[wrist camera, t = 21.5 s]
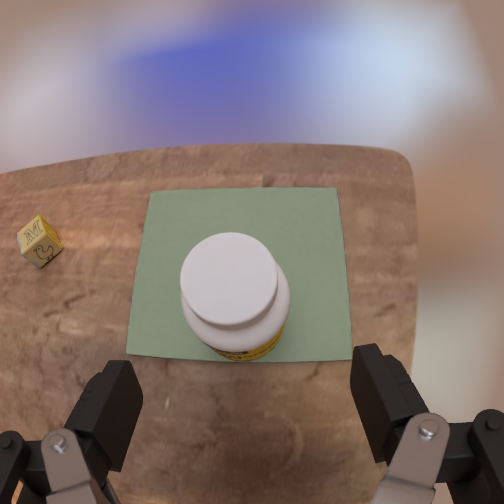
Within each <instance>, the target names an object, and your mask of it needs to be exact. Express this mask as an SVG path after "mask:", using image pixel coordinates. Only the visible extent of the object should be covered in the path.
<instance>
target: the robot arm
mask: <svg viewBox="0 0 504 504" xmlns="http://www.w3.org/2000/svg"><path fill="white" fill-rule="evenodd" d="M350 388H351V393H352V396H353V399H354V402H355V405H356V407H357V410H358V413H359V416H360V419H361V422H362V425H363V427H364V430H365V433H366V436H367V439H368V442H369V445H370V448H371V451H372V454H373V457H374V460H375V463H380V462H384V461H386V463H387V466H388V469H387V471H386V473H385V475H384V477H383V479H382V481H381V483H380V485H379V487H378V489H377V491H376V493H375V495H374V497H373V499H372V500H371V502H370V504H432V502H433V499H434V496H435V491H436V490H435V489H434V484H435V483H445V482H446V483H447V486H448V489H449V491H450V494H451V497H452V500H453V503H454V504H504V413H502V412H501V411H498V410H494V409H487V410H483V411H481V412H480V413H478V415H477V416H476V417H475V419H474V421H473V422H466V423H448V422H447V421H446V420H445V419H444V418H443V417H441V416H440V415H438V414H435V413H430V411H429V410H428V408H427V406H426V405H425V403H424V401H423V399H422V398H421V396H420V394H419V392H418V390H417V389H416V387H415V385H414V384H413V382H412V381H411V378H410V377H409V375H408V374H407V372H406V370H405V368H404V367H403V365H402V363H401V362H400V361H399V360H397V359H396V358H394V357H393V356H392V355H385V356H383V355H382V353H381V351H380V349H379V348H378V346H377V344H375V343H373V344H367V345H361V346H355V347H354V350H353V358H352V367H351V375H350ZM142 405H143V393H142V389H141V387H140V384H139V382H138V379H137V377H136V374H135V372H134V369H133V366H132V364H131V362H130V361H128V360H109V361H108V363H107V364H106V366H105V368H104V370H103V372H102V373H100V372H98V373H97V374H96V375H95V376H94V377H93V378H91V379H90V380H89V381H88V383H87V385H86V387H85V389H84V392H82V394H81V396H80V398H79V400H78V401H77V403H76V405H75V407H74V409H73V410H72V412H71V414H70V416H69V418H68V420H67V422H66V424H65V426H64V427H63V428H58V429H54V430H52V431H50V432H49V433H47V434H46V435H45V436H44V438H43V440H40V441H25V440H24V439H23V438H22V436H21V435H20V434H19V433H18V432H16V431H6V432H3V433H1V434H0V504H11V500H12V496H13V494H14V491H15V489H16V486H17V484H18V482H19V480H20V481H21V482H22V483H23V484H24V485H23V488H22V490H21V493H20V495H19V498H18V500H17V503H16V504H121V503H120V501H119V499H118V497H117V495H116V493H115V491H114V489H113V487H112V485H111V483H110V481H109V479H108V478H107V475H108V472H109V470H110V471H116V472H121V469H122V466H123V462H124V459H125V456H126V453H127V450H128V447H129V444H130V441H131V438H132V435H133V432H134V429H135V426H136V423H137V420H138V417H139V414H140V411H141V408H142Z"/></svg>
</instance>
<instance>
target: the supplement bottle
mask: <svg viewBox="0 0 504 504" xmlns="http://www.w3.org/2000/svg"><path fill="white" fill-rule="evenodd" d="M180 287H181V306H182V311H183V314H184V317H185V320H186V322H187V324H188V326H189V328H190V329H191V330H192V332H193V333H194V334H195V335H196V336H197V337H198V338H199V339H200V340H201V341H202V342H203V343H205V344H206V345H207V346H209V347H210V348H211V349H213V350H214V351H216V352H217V353H218V354H220V355H221V356H223V357H225V358H227V359H230V360H233V361H238V362H249V361H254V360H257V359H260V358H262V357H264V356H265V355H267V354H268V353H270V352H271V351H272V350H273V349H274V347H275V346H276V345H277V343H278V342H279V340H280V338H281V336H282V333H283V330H284V326H285V323H286V319H287V316H288V313H289V308H290V289H289V284H288V281H287V279H286V276H285V274H284V272H283V270H282V269H281V267H280V266H279V265H278V263H277V262H276V261H275V260H274V258H273V256H272V255H271V253H270V252H269V250H268V249H267V248H266V247H265V246H264V245H263V244H262V243H261V242H259V241H258V240H257V239H255V238H253V237H251V236H248V235H246V234H242V233H235V232H226V233H219V234H216V235H212V236H210V237H208V238H206V239H204V240H203V241H201V242H200V243H198V244H197V245H196V246H195V247H194V248H193V249H192V250H191V251H190V253H189V254H188V255H187V257H186V259H185V261H184V263H183V265H182V269H181V273H180Z"/></svg>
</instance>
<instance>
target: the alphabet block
mask: <svg viewBox="0 0 504 504" xmlns="http://www.w3.org/2000/svg"><path fill="white" fill-rule="evenodd" d="M17 239H18V242H19V246H20V250H21V253H22V256H24V257H25V258H26V259H28V260H29V261H30V262H32V263H33V264H34V265H36V266H37V267H38V268H41V267H42V266H43V265H44V264H46V263H47V262H48V261H49V260H50V259H51V258H53V257H54V256H55V255H56V254H57V253H58V252H60V251H61V250H62V246H61V244H60V242H59V239H58V237H57V234H56V232H55V230H54V228H53V227H52V226H51V225H50V224H49V223H48V222H47V221H46V220H45V219H44V218H43V217H42V216H41V215H40V214H39V215H37V216H36V217H35V218H34V219H33V220H32V221H31V222H30V223H28V224H27V225H26V226H25V227H24V228H23V229H22V230H21V231H20V232H19V233H17Z"/></svg>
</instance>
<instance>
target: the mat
mask: <svg viewBox="0 0 504 504" xmlns="http://www.w3.org/2000/svg"><path fill="white" fill-rule="evenodd" d="M226 232H235V233H242V234H246V235H248V236H251V237H253V238H255V239H257V240H258V241H259V242H261V243H262V244H263V245H264V246H265V247H266V248H267V249H268V250H269V252H270V253H271V255H272V256H273V258H274V260H275V261H276V262H277V263H278V265H279V266H280V267H281V269H282V270H283V272H284V274H285V276H286V279H287V281H288V284H289V289H290V308H289V313H288V316H287V319H286V323H285V326H284V330H283V333H282V336H281V338H280V340H279V342H278V343H277V345H276V346H275V347H274V349H273V350H272V351H271V352H270V353H268V354H267V355H265V356H264V357H262V358H260V359H257V360H254V361H249V362H320V361H340V360H352V341H351V323H350V308H349V294H348V283H347V272H346V262H345V252H344V243H343V235H342V227H341V219H340V211H339V204H338V197H337V191H336V188H297V187H270V188H217V189H191V190H170V191H153V192H151V196H150V201H149V205H148V210H147V215H146V220H145V225H144V230H143V235H142V240H141V246H140V251H139V257H138V263H137V269H136V276H135V282H134V289H133V296H132V303H131V311H130V319H129V328H128V338H127V348H126V354H130V355H139V356H149V357H159V358H171V359H184V360H200V361H221V362H238V361H233V360H230V359H227V358H225V357H223V356H221V355H220V354H218V353H217V352H216V351H214V350H213V349H211V348H210V347H209V346H207V345H206V344H205V343H203V342H202V341H201V340H200V339H199V338H198V337H197V336H196V335H195V334H194V333H193V332H192V330H191V329H190V328H189V326H188V324H187V322H186V320H185V317H184V314H183V311H182V306H181V287H180V273H181V269H182V265H183V263H184V261H185V259H186V257H187V255H188V254H189V253H190V251H191V250H192V249H193V248H194V247H195V246H196V245H197V244H198V243H200V242H201V241H203V240H204V239H206V238H208V237H210V236H212V235H216V234H219V233H226Z"/></svg>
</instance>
